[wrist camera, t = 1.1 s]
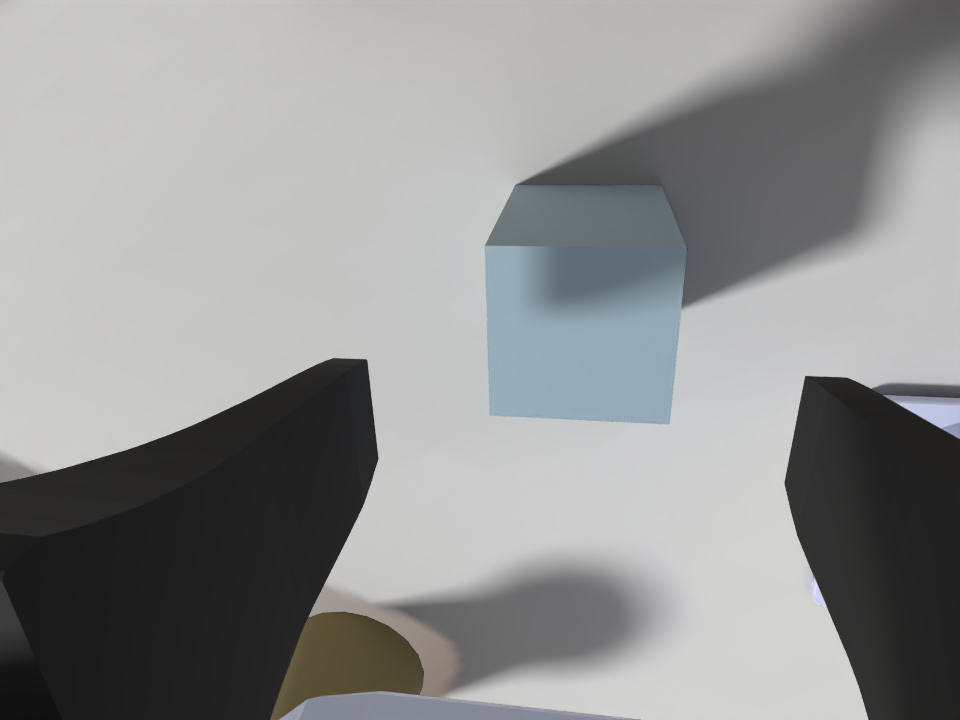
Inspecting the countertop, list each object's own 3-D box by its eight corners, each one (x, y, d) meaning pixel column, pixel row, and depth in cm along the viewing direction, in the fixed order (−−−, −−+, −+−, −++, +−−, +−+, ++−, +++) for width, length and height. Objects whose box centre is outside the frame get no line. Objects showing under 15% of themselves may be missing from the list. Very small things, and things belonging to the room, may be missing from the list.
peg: (661, 185, 19) (687, 248, 14) (650, 320, 21) (669, 424, 15) (515, 184, 19) (484, 245, 14) (516, 316, 21) (489, 415, 16)
